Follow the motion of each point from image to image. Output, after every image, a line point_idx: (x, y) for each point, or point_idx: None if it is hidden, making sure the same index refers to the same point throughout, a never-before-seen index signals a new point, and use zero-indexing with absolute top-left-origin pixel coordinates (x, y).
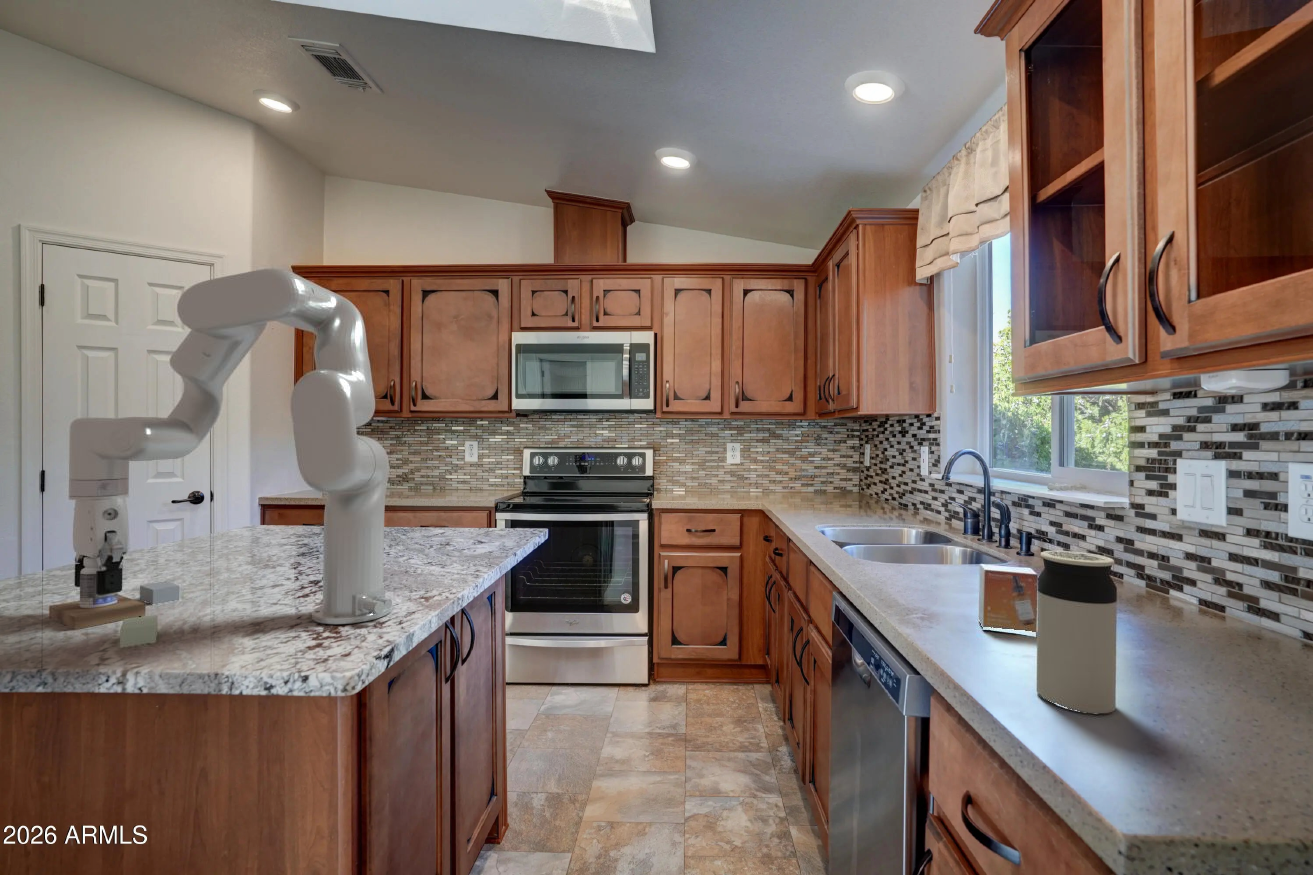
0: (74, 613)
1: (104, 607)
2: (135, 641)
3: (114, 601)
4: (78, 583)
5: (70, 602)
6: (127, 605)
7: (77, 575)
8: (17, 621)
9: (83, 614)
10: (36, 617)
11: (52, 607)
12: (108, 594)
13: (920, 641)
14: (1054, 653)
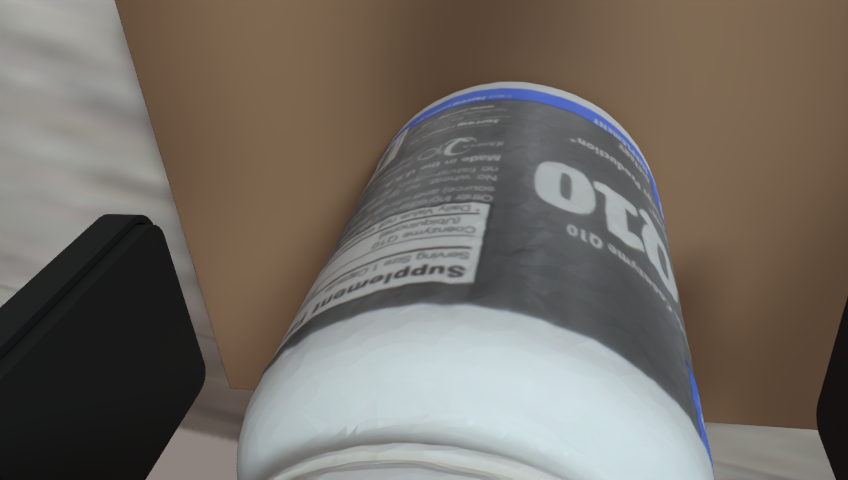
0: None
1: (683, 217)
2: None
3: (627, 138)
4: (192, 391)
5: (215, 292)
6: (822, 61)
7: (146, 471)
8: (238, 425)
9: (790, 376)
10: (203, 358)
11: None
12: (669, 249)
13: None
14: None
